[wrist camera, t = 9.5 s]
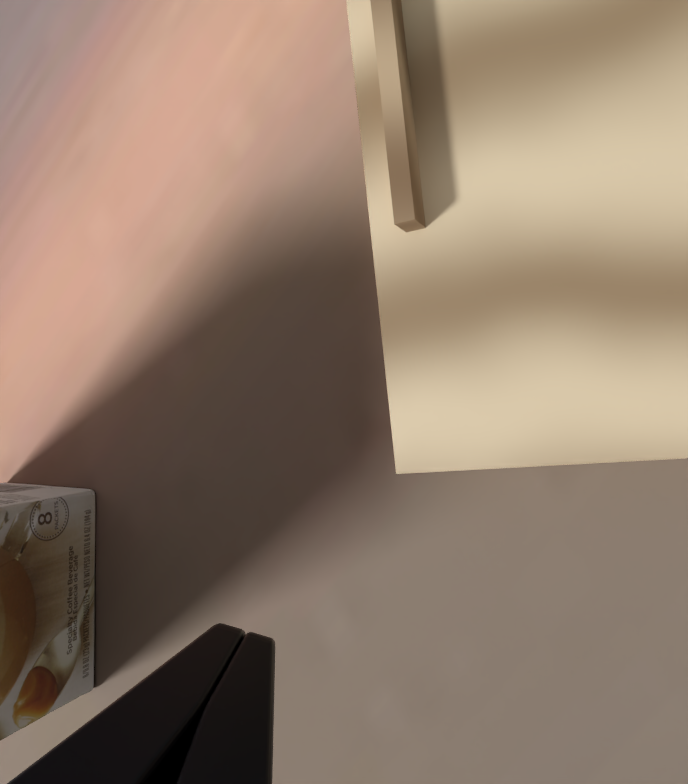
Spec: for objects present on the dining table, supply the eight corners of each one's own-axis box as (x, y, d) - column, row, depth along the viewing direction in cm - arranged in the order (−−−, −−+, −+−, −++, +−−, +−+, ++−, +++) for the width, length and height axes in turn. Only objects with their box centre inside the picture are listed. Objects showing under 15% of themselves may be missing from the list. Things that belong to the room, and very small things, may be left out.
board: (991, 429, 14) (1095, 442, 11) (421, 464, 20) (383, 478, 17) (870, -415, 15) (936, -631, 12) (357, -143, 21) (309, -237, 18)
